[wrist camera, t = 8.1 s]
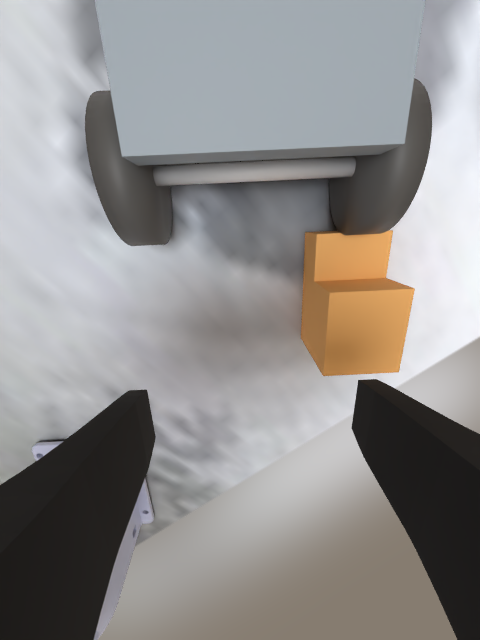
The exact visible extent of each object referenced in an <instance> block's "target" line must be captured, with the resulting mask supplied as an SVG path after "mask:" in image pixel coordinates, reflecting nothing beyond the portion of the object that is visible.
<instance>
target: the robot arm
mask: <svg viewBox="0 0 480 640" xmlns="http://www.w3.org/2000/svg"><path fill="white" fill-rule="evenodd" d="M352 430H353V432H354V435H355V437H356V440H357V442H358V445H359V447H360V449H361V451H362V454H363V456H364V458H365V460H366V462H367V464H368V465H369V467H370V469H371V471H372V472H373V474H374V476H375V478H376V479H377V481H378V483H379V485H380V487H381V488H382V490H383V492H384V493H385V495H386V497H387V499H388V500H389V502H390V504H391V505H392V507H393V509H394V511H395V512H396V514H397V516H398V518H399V519H400V521H401V523H402V525H403V526H404V528H405V530H406V532H407V534H408V535H409V537H410V539H411V541H412V543H413V545H414V547H415V549H416V551H417V552H418V555H419V557H420V559H421V561H422V563H423V565H424V568H425V570H426V571H427V573H428V576H429V578H430V580H431V582H432V584H433V587H434V589H435V591H436V593H437V595H438V597H439V600H440V602H441V604H442V606H443V608H444V611H445V613H446V615H447V617H448V620H449V622H450V624H451V626H452V628H453V631H454V633H455V635H456V637H457V640H480V434H478V433H476V432H474V431H472V430H470V429H468V428H466V427H464V426H462V425H460V424H458V423H457V422H454V421H453V420H451V419H449V418H447V417H445V416H443V415H442V414H440V413H438V412H436V411H434V410H432V409H431V408H429V407H427V406H425V405H423V404H422V403H420V402H418V401H416V400H414V399H413V398H411V397H409V396H407V395H405V394H404V393H402V392H400V391H398V390H396V389H395V388H393V387H391V386H389V385H387V384H385V383H383V382H381V381H379V380H377V379H371V380H358V387H357V394H356V401H355V408H354V415H353V423H352ZM154 442H155V432H154V426H153V421H152V415H151V410H150V404H149V398H148V393H147V390H131V391H128V392H126V393H125V394H123V395H122V396H121V397H119V398H118V399H117V400H116V401H114V402H113V403H112V404H111V405H109V406H108V407H107V408H106V409H104V410H103V411H102V412H101V413H100V414H98V415H97V416H96V417H94V418H93V419H92V420H91V421H89V422H88V423H87V424H86V425H84V426H83V427H82V428H81V429H79V430H78V431H77V432H75V433H74V434H73V435H71V436H70V437H69V438H67V439H66V440H65V441H57V442H39V443H36V444H35V445H34V446H33V447H32V453H33V455H34V457H35V460H36V462H35V463H33V464H32V465H30V466H29V467H27V468H26V469H24V470H23V471H21V472H20V473H18V474H17V475H15V476H14V477H12V478H11V479H9V480H8V481H6V482H4V483H3V484H1V485H0V640H98V638H99V637H100V636H101V635H102V633H103V632H104V630H105V629H106V627H107V626H108V624H109V622H110V620H111V618H112V616H113V614H114V612H115V610H116V607H117V604H118V600H119V598H120V594H121V591H122V588H123V584H124V581H125V577H126V574H127V570H128V567H129V564H130V561H131V557H132V554H133V551H134V547H135V544H136V541H137V537H138V534H139V531H140V527H141V524H147V523H151V522H152V521H153V519H154V513H153V509H152V505H151V500H150V496H149V492H148V487H147V483H146V479H145V477H146V474H147V471H148V468H149V464H150V460H151V456H152V451H153V447H154Z"/></svg>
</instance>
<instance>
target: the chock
mask: <svg viewBox="0 0 480 640" xmlns="http://www.w3.org/2000/svg"><path fill="white" fill-rule="evenodd" d="M392 234H393V231H390V230H388V231H386V232H384V233H381V234H365V235H343V234H341V233H340V232H339V231H323V232H305V252H304V276H303V300H302V324H301V339H302V341H303V342H304V344H305V346H306V348H307V349H308V351H309V353H310V354H311V356H312V358H313V359H314V361H315V363H316V364H317V366H318V368H319V370H320V371H321V373H322V375H323V376H334V375H353V374H372V373H391V372H399V368H400V363H401V358H402V353H403V347H404V342H405V337H406V332H407V326H408V321H409V316H410V311H411V305H412V300H413V295H414V290H415V289H414V288H411V287H409V286H406V285H403V284H401V283H398V282H395V281H393V280H390V279H387V278H386V274H387V267H388V260H389V254H390V247H391V240H392Z"/></svg>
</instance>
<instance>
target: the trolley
mask: <svg viewBox="0 0 480 640" xmlns="http://www.w3.org/2000/svg"><path fill="white" fill-rule="evenodd" d="M95 4H96V10H97V16H98V22H99V27H100V33H101V39H102V45H103V50H104V56H105V62H106V68H107V74H108V79H109V85H110V91H96V92H94V93H93V94H92V95H91V96H90V98H89V100H88V103H87V107H86V116H85V132H86V143H87V151H88V157H89V162H90V167H91V171H92V175H93V179H94V183H95V186H96V190H97V193H98V195H99V198H100V201H101V204H102V206H103V209H104V211H105V213H106V215H107V217H108V220H109V222H110V223H111V225H112V227H113V229H114V230H115V232H116V233H117V235H118V236H119V237H120V238H121V239H122V240H123V241H124V242H125V243H126V244H128V245H130V246H141V245H162V244H166V243H167V242H168V241H169V238H170V235H171V228H172V199H171V188H170V185H190V184H211V183H233V182H254V181H275V180H297V179H318V178H330V181H329V197H330V208H331V213H332V218H333V221H334V224H335V226H336V228H337V229H338V231H339V232H340V233H341V234H343V235H365V234H381V233H384V232H386V231H388V230H390V229H391V228H392V227H393V226H395V225H396V224H397V223H398V221H399V220H400V219H401V218H402V217H403V215H404V214H405V212H406V211H407V209H408V208H409V206H410V204H411V202H412V200H413V199H414V197H415V194H416V192H417V190H418V188H419V185H420V182H421V179H422V177H423V174H424V170H425V167H426V163H427V159H428V154H429V149H430V142H431V132H432V112H431V104H430V100H429V96H428V93H427V91H426V89H425V87H424V86H423V84H422V83H421V82H420V81H418V80H417V79H415V78H414V76H415V69H416V62H417V55H418V48H419V41H420V34H421V27H422V21H423V14H424V7H425V0H95ZM316 157H332V158H320V159H298V160H276V161H254V162H233V163H211V164H189V165H168V166H167V164H185V163H207V162H229V161H251V160H272V159H294V158H316Z"/></svg>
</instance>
